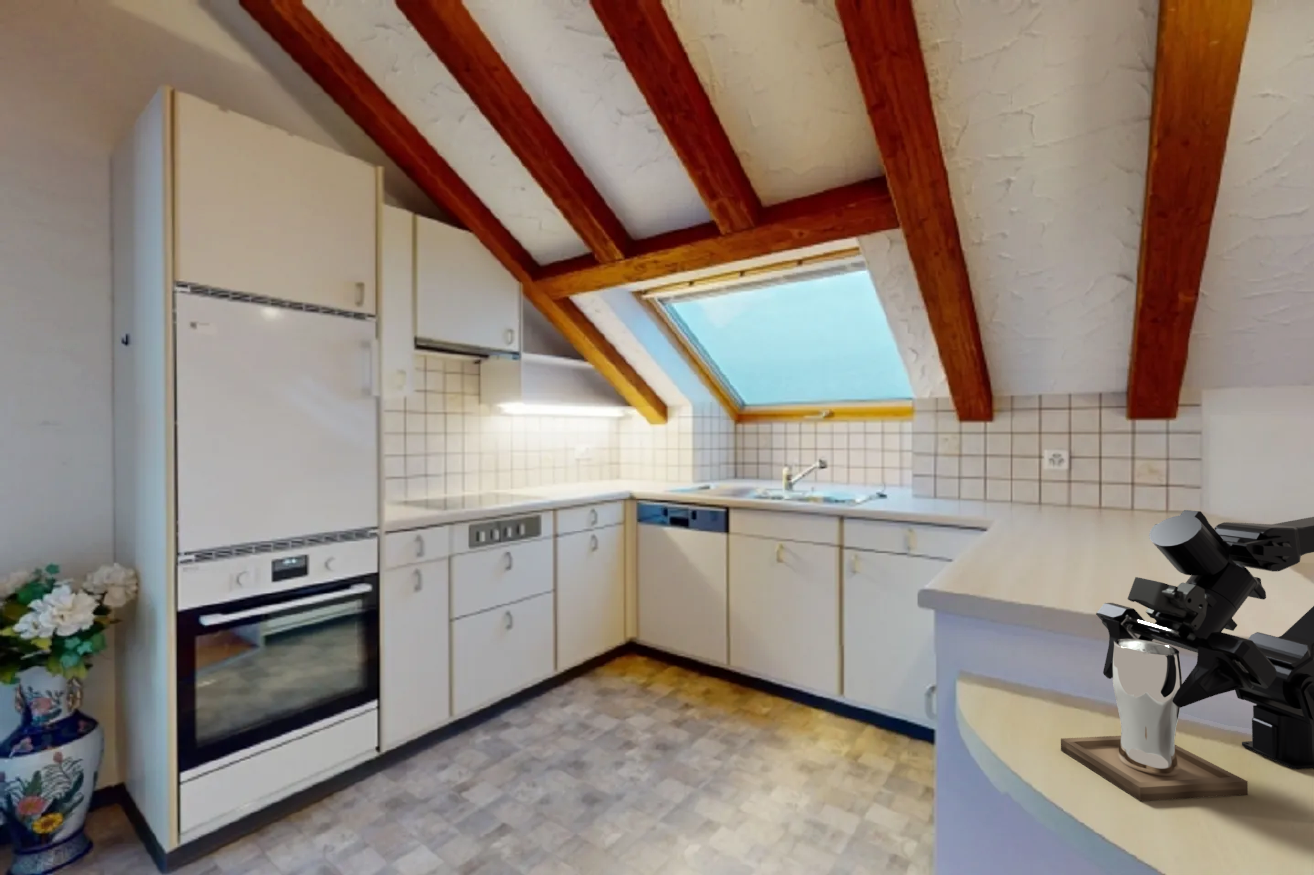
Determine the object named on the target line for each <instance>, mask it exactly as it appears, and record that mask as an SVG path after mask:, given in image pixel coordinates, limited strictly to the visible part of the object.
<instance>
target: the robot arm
mask: <svg viewBox="0 0 1314 875" xmlns="http://www.w3.org/2000/svg"><path fill="white" fill-rule="evenodd" d="M1148 536H1149V540H1150V541H1151V542H1152V544H1154V546H1155V547H1156V548H1157V549H1158V550H1159V552H1161V553H1162V555H1163V556H1164V557H1165V558H1166V560H1167V561H1168V562H1169V563H1170V564H1171V565H1172V566H1173V567H1174V568H1175V570H1177V571H1178V572H1179V573H1180V574H1183V575H1186V576H1190V577H1189V578H1188V579H1187V581H1185V582H1181V583H1179V584H1178V585H1172V584H1168V583H1164V582H1161V581H1157V580H1152V579H1148V578H1143V577H1138V576H1135V577H1134V580H1133V583H1132V586H1131V588H1130V591H1129V592H1128V593H1129V594H1128V597H1127V600H1128V601H1130V602H1132V603H1137V604H1139V605H1142V606H1143V607H1145V608H1147V609H1146V610H1145V614H1146V615H1148V617H1149V618H1151V619H1154V620H1155V622H1154V623H1150V622H1147V621H1146V620H1145V619H1144V618H1143V617H1142V616H1141V615H1140V613H1139V612H1138V611H1137V610H1136V609H1135V608H1133V607H1130V606H1125V605H1121V604H1118V603H1114V602H1104V603H1103V604H1102V605H1101V607H1100V608H1099V609H1098V610H1097V611H1096V613H1095V615H1096V616H1097V617H1098V619H1100V620H1101V624H1102V625H1103V626H1104V627H1105V628H1106V630H1107V631H1108V636H1109V638H1108V648H1107V652H1106V657H1105V662H1104V666H1103V671H1102V673H1103V676H1105V677H1106V678H1107V679H1109V680H1110V679H1113V675H1112V666H1113V652H1114V641H1115V640H1117V639H1124V638H1129V639H1141V640H1148V641H1154V640H1155V641H1158V642H1160V643H1163V644H1166V645H1170V646H1173V647H1178V648H1181V649H1184V650H1187V651H1190V652H1194V653H1196V654H1197V657H1196V658H1197V660H1196V664H1195V666H1194V667H1193V669H1192V670H1191V671H1190V673H1189V674H1188V675H1187V676H1186V678H1185V680H1184V681H1182V685H1181V686H1180V688H1179V689H1178V691H1177V692H1176V694H1175V696H1174V698H1173V700H1172V701H1173V703H1174V704H1175V705H1176V706H1177V707H1180V709H1181V708H1183V707H1187V706H1188V705H1192V704H1194V703H1198V702H1200V701H1203V700H1207V699H1208V698H1212V697H1214V696H1218V695H1221V694H1224V693H1229V692H1232V691H1235V694H1236V697H1237V699H1239V700H1242V701H1247V702H1249V703H1252V704H1254V705H1252V716H1253V717H1252V718H1251V741H1250V740H1249V741H1247V740H1246V741H1241V746H1242V747H1245V748H1246V749H1248V750H1250V751H1253V752H1255V753H1257V754H1260V755H1262V756H1264V757H1266V758H1268V759H1270V760H1273V761H1275V762H1277V763H1279V764H1281V765H1284V766H1285V767H1287V768H1290V769H1294V770H1305V769H1309V770H1310V769H1314V605H1312V607H1311V608H1310V609H1309V610H1307V611H1306V612H1305V614H1303V615H1302V616H1301V617H1300V618H1299V619H1298V620H1297V621H1295V623H1294V624H1293V625H1291V627H1289V628H1288V629H1287V630H1286V631H1285V632H1284V633H1283V634H1281V635H1279V636H1275V635H1272V634H1266V633H1263V632H1260V631H1256V632H1254V633H1253V634H1251V635H1250V636H1249V637H1248V638H1244V637H1240V636H1236V635H1233V634H1229V633H1225V632H1223V630H1229V631H1233V632H1234V631H1235V629H1236V628H1237V626H1238V624H1237V622H1236V621H1235V620H1234V619H1233V617H1234V616H1235V615H1236V613H1238V610H1239V609H1240V608H1241V606H1243V604H1244V603H1245V601H1246V600H1247V599H1248V597H1249V598H1254V599H1258V600H1266V598H1267V593H1266V589H1265V588H1264V586H1263V585H1262V584H1263V583H1262V579H1261V578H1260V577H1258V576H1257V577H1255V576H1254V575H1253V574H1252V573H1251V572H1250V571H1249V570H1248V568H1250V569H1255V570H1262V571H1268V572H1281V571H1283V570H1285V569H1288V568H1290V567H1292V566H1295V565H1297V564H1299V563H1300V562H1301V558H1302V557H1303V556H1305V555H1306V554H1311V553H1314V516H1310V517H1305V518H1300V519H1293V520H1290V521H1289V520H1288V521H1284V522H1278V523H1273V524H1272V523H1271V524H1270V523H1269V524H1268V523H1254V522H1253V523H1251V522H1232V521H1231V522H1230V521H1226V522H1222V523H1218V524H1217V525H1216V526H1215V527H1213V526H1212V525H1211V524H1210V522H1209V521H1208V518H1207V517H1206V516H1205V514H1204V513H1203V512H1202V511H1199V510H1191V509H1190V510H1189V509H1184V510H1183V511H1182V512H1181V513H1180V514H1179V515H1175V516H1172V517H1171V516H1170V517H1168V518H1166V519H1164V520H1161V522H1159V523H1156V524H1154V525H1153V526H1152V528H1151V529H1150V531H1149V535H1148Z"/></svg>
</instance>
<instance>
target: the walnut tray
mask: <svg viewBox="0 0 1314 875" xmlns="http://www.w3.org/2000/svg"><path fill="white" fill-rule="evenodd" d="M1120 741H1121V735H1108V736H1106V735H1104V736H1089V737H1088V736H1086V737H1085V736H1084V737H1083V736H1082V737H1067V738H1066V737H1064V738H1060V751H1061V752H1063V753H1064V754H1066V755H1068V756H1069V757H1071V758H1072V759H1074V760H1075V761H1077V762H1078V763H1079V764H1081V765H1082V766H1084V767H1086V768H1088V769H1090V771H1092V772H1094V773H1096V774H1097V775H1098V776H1100V777H1101V778H1103V779H1105V780H1107V781H1108V782H1110V784H1111V783H1112V785H1114V786H1115V787H1117V788H1118V789H1120V790H1122V791H1123V792H1125V793H1126V794H1128V795H1129V796H1131V797H1133V798H1134V799H1136V800H1138V801H1139V802H1151V801H1152V802H1153V801H1166V800H1167V801H1170V800H1171V801H1173V800H1183V799H1184V800H1186V799H1200V798H1203V799H1204V798H1219V797H1233V796H1234V797H1235V796H1248V795H1249V791H1248V783H1249V782H1248V780H1245V779H1244V778H1242V777H1240V776H1238V775H1236V774H1234V773H1233V772H1230V771H1228V770H1227V769H1225V768H1222V767H1220V766H1218V765H1216V764H1215V763H1212V762H1210V761H1209V760H1206V759H1204V757H1203V758H1202V757H1200V756H1198V755H1196V754H1194V753H1192V752H1190V751H1189V750H1187V749H1185V748H1183V747H1181V746H1178V745H1177V744H1175V752H1176V757H1177V761H1178V765H1179V773H1178V774H1177V775H1175V776H1157V775H1152V774H1148V773H1144V772H1141V771H1138V770H1136V769H1134V768H1131V767H1129V766H1127V765H1126V764H1124V763H1123V762H1122V761H1121V760H1120V759H1119V758H1118V750H1119V745H1120Z"/></svg>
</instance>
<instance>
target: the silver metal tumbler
mask: <svg viewBox="0 0 1314 875" xmlns="http://www.w3.org/2000/svg"><path fill="white" fill-rule="evenodd" d="M1181 664H1182V663H1181V656H1180V650H1178V649H1177V648H1175V646H1172V645H1169V644H1166V643H1163V642H1159V641H1158V642H1157V641H1154V640H1152V641H1148V640H1141V639H1129V638H1124V639H1117V640H1115V641H1114V652H1113V666H1112V675H1113V678H1112V685H1113V691H1114V697H1115V701H1116V706H1117V711H1118V715H1119V721H1120V729H1121V730H1120V731H1121V732H1120V736H1121V741H1120V745H1119V750H1118V758H1119V759H1120V760H1121V761H1122V762H1123V763H1124V764H1126V765H1127V766H1129V767H1131V768H1134V769H1136V770H1138V771H1141V772H1144V773H1148V774H1152V775H1157V776H1175V775H1177V774H1178V773H1179V765H1178V761H1177V757H1176V752H1175V745H1176V744H1175V739H1176V733H1177V732H1176V730H1177V726H1178V725H1177V724H1178V722H1179V717H1180V713H1181V708H1180V707H1177V706H1176V705H1175V704H1174V703H1173V701H1172V700H1173V698H1174V696H1175V694H1176V692H1177V691H1178V689H1179V688H1180V686H1181V685H1182V684H1183V675H1182V674H1183V673H1182V666H1181Z"/></svg>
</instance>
